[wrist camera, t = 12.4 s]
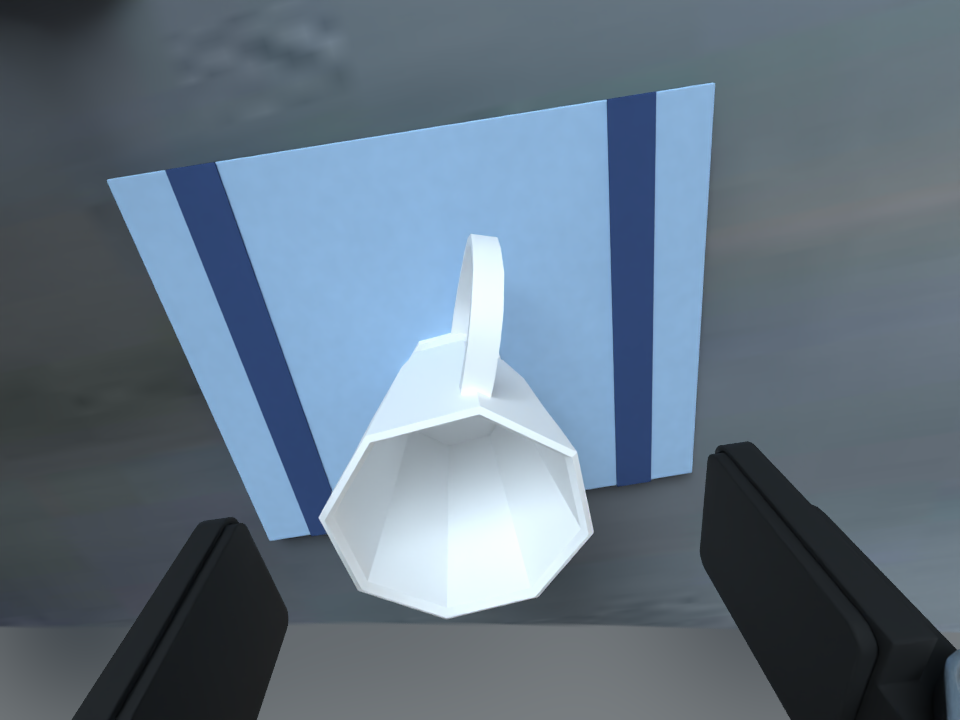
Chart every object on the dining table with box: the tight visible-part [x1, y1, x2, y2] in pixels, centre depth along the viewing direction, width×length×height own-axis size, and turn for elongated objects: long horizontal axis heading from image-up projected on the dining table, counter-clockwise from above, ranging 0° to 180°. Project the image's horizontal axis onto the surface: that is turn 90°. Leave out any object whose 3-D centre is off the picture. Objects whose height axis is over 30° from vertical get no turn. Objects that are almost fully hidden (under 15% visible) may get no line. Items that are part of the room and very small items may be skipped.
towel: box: [107, 83, 715, 541], centre depth 19 cm, size 16×20×1 cm
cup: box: [319, 234, 594, 619], centre depth 15 cm, size 7×10×8 cm
